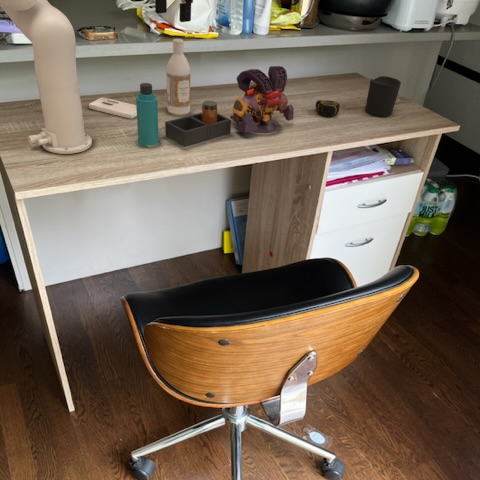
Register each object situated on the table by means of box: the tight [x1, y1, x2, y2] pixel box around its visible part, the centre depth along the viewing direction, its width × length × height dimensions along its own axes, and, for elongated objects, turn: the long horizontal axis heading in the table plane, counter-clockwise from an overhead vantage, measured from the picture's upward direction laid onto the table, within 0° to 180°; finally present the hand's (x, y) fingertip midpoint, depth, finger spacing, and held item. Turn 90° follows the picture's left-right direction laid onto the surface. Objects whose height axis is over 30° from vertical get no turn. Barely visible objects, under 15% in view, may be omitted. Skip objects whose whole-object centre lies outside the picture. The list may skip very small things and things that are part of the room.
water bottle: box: [135, 82, 160, 149], centre depth 137 cm, size 5×5×15 cm
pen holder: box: [364, 75, 402, 118], centre depth 169 cm, size 9×9×10 cm
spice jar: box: [201, 100, 219, 125], centre depth 147 cm, size 4×4×8 cm
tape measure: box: [315, 99, 341, 117], centre depth 167 cm, size 7×7×4 cm
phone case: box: [88, 96, 137, 119], centre depth 158 cm, size 7×1×15 cm
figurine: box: [229, 65, 295, 134], centre depth 150 cm, size 20×14×17 cm
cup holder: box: [164, 112, 232, 148], centre depth 146 cm, size 16×9×5 cm, turn 133°
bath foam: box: [165, 38, 191, 115], centre depth 154 cm, size 7×7×20 cm
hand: (172, 17), depth 133 cm, fingers open, 9 cm apart
